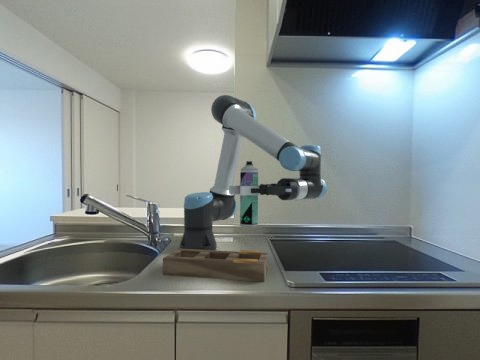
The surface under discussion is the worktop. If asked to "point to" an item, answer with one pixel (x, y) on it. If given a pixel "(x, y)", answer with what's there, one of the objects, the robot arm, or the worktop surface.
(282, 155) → the robot arm
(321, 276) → the worktop surface
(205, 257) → the rack
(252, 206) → the spray can
